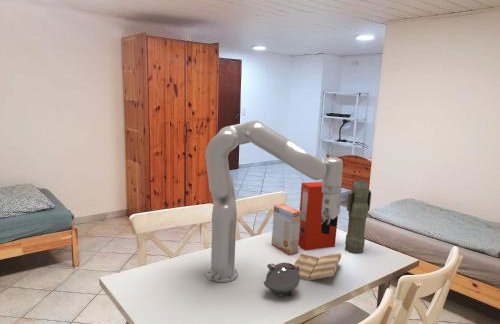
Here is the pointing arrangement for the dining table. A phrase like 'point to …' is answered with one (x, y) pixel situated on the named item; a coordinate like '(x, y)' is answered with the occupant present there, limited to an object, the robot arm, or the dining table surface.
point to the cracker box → (286, 228)
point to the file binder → (313, 219)
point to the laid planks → (306, 265)
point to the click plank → (326, 266)
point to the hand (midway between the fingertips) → (329, 229)
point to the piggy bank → (282, 278)
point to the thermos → (357, 216)
